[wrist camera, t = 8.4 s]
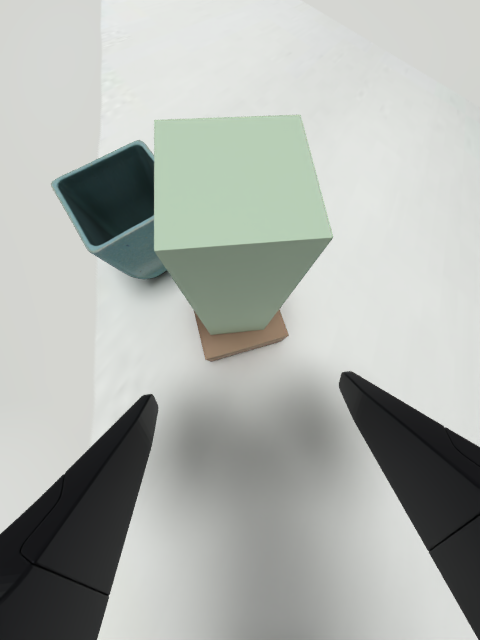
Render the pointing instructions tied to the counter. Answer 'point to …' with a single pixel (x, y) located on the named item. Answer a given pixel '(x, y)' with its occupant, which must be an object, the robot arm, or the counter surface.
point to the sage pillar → (236, 214)
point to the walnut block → (240, 339)
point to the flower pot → (115, 208)
